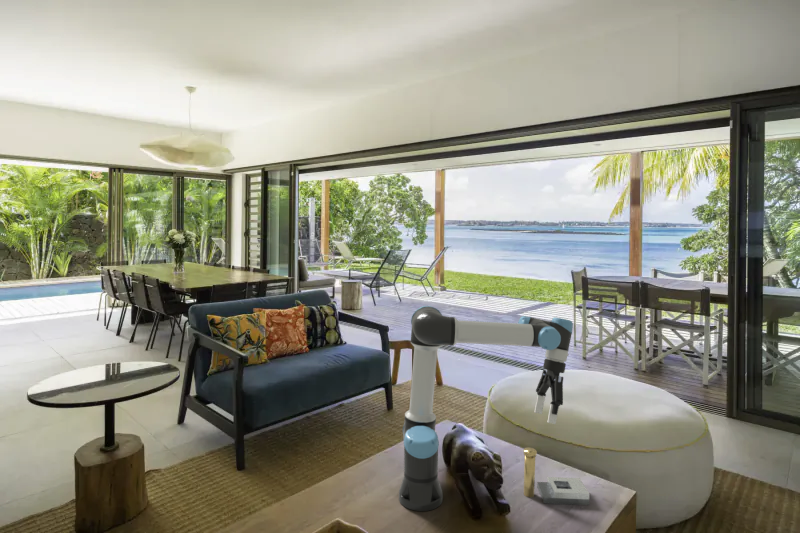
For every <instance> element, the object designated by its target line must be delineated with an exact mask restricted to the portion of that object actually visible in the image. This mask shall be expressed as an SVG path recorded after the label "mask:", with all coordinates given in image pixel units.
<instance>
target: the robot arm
mask: <svg viewBox="0 0 800 533" xmlns="http://www.w3.org/2000/svg"><path fill="white" fill-rule="evenodd" d="M410 324H411V329H410V330H411V334H410V344H411V345H412V346H413V357H412V358H413V361H412V372H411V373H412V374H411V383H410V384H411V385H410V396H409V397H410V399H409V409H408V410H407V411H405V413H404V423H403V426H402V436H403V437H402V438H403V456H404V457H403V460H404V461H403V462H404V464H403V478H402V482H401V484H400V486H399V491H398V501H399V503H400V504H401V506H403V507H405V508H406V509H408V510H411V511H415V512H417V511H418V512H428V511H432V510H435V509H437V508H439V507H440V506H441V505H442V503H443V499H444V498H443V490H442V486H441V483H440V480H439V473H438V472H439V445H440V441H439V437H438V433H437V432H436V421H437V415H436V414H435V412H434V411H433V407H434V396H435V384H436V383H435V382H436V374H437V373H436V372H437V358H438V350H439V348H441V347H442V346H450V347H451V346H452V347H453V346H456V345H457V344H473V345H474V344H475V345H494V346H495V345H496V346H497V345H498V346H515V347H517V346H519V347H535V348H541V349H544V350H545V355H544V357H546V358H545V359H544V361H543V366H542V367H543V370H542V373H541V377H540V380H539V381H538V384H537V387H536V389H535V393H536V394H537V395H536V396H537V397H536V402H535V406H534V413H536V414H540V415H542V414H543V410H544V407H545V406H544V405H545V400H546V397H547V391H548V390H549V389H550V393H551V394H550V395H551V401H550V407H549V410H548V418H547V423H548V424H551V425H552V424H553V425H556V424H557V418H558V414H559V413H558V412H559V409H560V406H563V405H564V385H563V383H564V376H560V375H561V374H564V373H565V371H566V366H567V365H566V362H567V359H568V357H569V355H570V354H569V349H570V344H571V339H572V335H573V326H574V323H573V321H572V320H570V319H565V318H560V317H553V318H552V320H551V321H548V320H545V319H544V320H543V319H540V318H535V317H532V316H526V315H525V316H523V315H522V316H521V317H520V318H519V320H518V322H517V323H514V322H512V323H511V322H495V321H472V320H459V319H457V318H456V317H454V316H445V315H442V312H441V311H440V310H439V309H438V308H436V307H434V306H431V305H423V306H421V307H418V308H417V309H416V310H415V311H414V312H413V314H412V315H411V318H410Z"/></svg>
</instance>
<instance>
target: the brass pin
mask: <svg viewBox="0 0 800 533" xmlns="http://www.w3.org/2000/svg"><path fill="white" fill-rule="evenodd" d="M537 452H538V451H537V450H536V449H535V448H533V447H524V448H523V455H524V464H523V465H524V466H523V470H524V472H523V495H524V496H525V497H526V498H534V497H535V483H536V482H535V480H536V479H535V478H536V457H537V455H538V454H537Z"/></svg>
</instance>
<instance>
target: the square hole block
mask: <svg viewBox="0 0 800 533" xmlns="http://www.w3.org/2000/svg"><path fill="white" fill-rule="evenodd" d="M536 489H537V490H538V493H539V495H540V497H541V499H542V502H543V504H555V505H576V506H577V505H578V506H579V505H581V506H582V505H583V506H590V492H589V491H588V489H587V487H586V486H585V483H583V481H582V480H581V478H580V477H560V476H559V477H557V476H554V477H553V476H547V477H546V481H536Z"/></svg>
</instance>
